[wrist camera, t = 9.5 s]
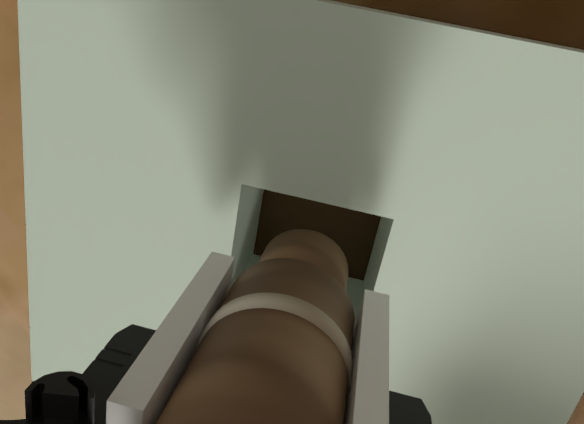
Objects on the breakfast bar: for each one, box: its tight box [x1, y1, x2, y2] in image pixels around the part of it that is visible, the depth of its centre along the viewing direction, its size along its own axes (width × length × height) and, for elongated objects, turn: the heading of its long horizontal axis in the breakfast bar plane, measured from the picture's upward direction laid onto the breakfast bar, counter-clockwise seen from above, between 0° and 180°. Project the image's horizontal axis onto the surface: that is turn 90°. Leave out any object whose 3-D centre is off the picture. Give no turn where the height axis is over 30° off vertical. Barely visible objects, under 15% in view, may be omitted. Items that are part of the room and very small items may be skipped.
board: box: [18, 0, 584, 424], centre depth 21 cm, size 22×18×5 cm
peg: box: [156, 229, 355, 424], centre depth 13 cm, size 4×4×13 cm
